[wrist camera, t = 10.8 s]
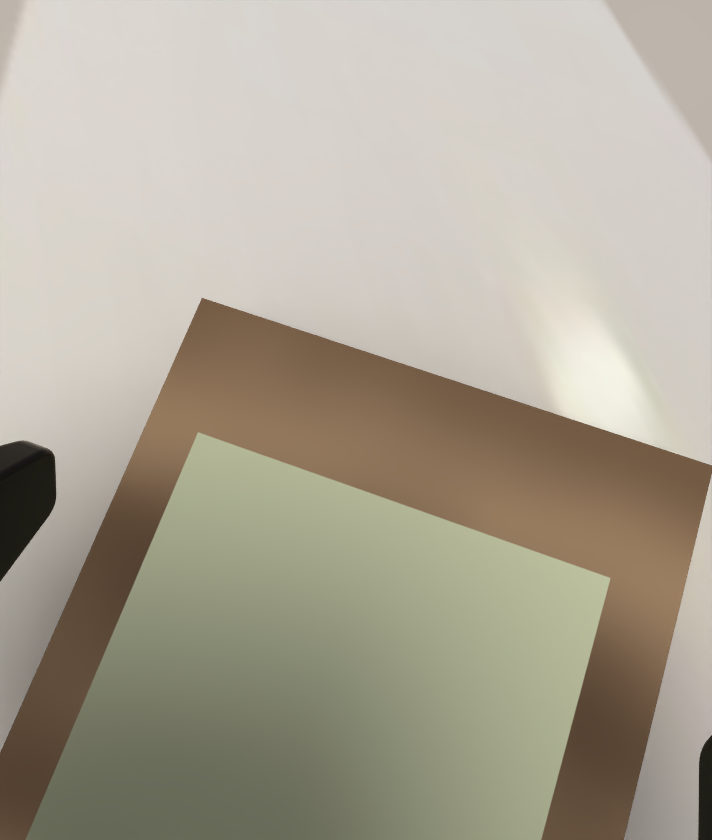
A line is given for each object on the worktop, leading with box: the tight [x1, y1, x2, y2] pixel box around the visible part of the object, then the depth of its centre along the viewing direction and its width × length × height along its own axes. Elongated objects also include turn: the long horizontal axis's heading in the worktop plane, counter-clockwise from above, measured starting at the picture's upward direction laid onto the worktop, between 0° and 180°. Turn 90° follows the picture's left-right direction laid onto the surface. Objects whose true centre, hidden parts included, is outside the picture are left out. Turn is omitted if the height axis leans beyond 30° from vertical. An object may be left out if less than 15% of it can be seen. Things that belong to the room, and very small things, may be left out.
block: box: [26, 432, 610, 840], centre depth 11 cm, size 4×4×10 cm
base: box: [0, 298, 712, 840], centre depth 17 cm, size 14×14×3 cm
